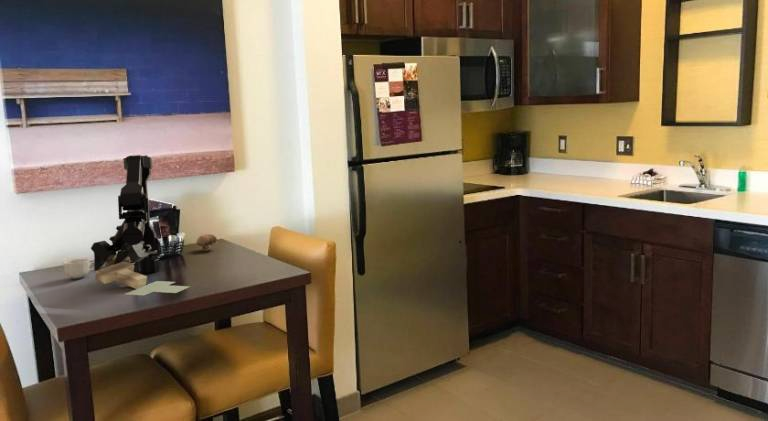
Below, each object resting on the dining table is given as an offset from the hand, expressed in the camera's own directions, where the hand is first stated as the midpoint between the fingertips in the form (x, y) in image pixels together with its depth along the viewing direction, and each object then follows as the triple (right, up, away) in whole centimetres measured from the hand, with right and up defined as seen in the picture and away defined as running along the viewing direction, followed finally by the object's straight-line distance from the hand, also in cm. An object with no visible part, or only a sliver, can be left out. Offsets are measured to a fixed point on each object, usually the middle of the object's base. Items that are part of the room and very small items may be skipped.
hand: (106, 267), depth 191 cm
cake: (-8, -2, +29) cm, 31 cm away
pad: (+19, -6, -5) cm, 21 cm away
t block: (+6, -4, -1) cm, 8 cm away
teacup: (-15, -4, +15) cm, 21 cm away
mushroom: (+17, +2, +49) cm, 52 cm away
